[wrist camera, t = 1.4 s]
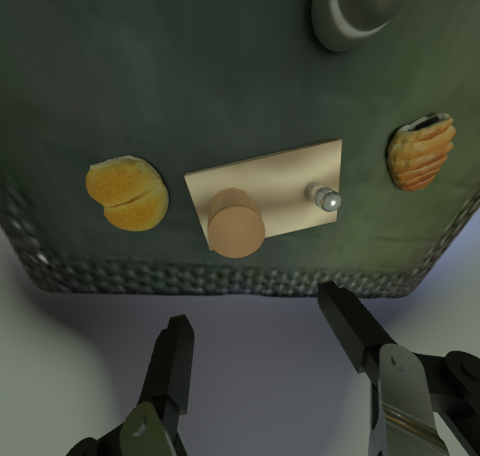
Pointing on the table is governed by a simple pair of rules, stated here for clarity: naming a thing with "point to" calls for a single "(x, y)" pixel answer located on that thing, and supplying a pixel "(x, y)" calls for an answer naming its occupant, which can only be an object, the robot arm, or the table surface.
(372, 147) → the table surface
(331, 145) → the board
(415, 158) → the pastry
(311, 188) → the post
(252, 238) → the cap
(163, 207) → the bread roll
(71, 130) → the table surface
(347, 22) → the plastic bottle
